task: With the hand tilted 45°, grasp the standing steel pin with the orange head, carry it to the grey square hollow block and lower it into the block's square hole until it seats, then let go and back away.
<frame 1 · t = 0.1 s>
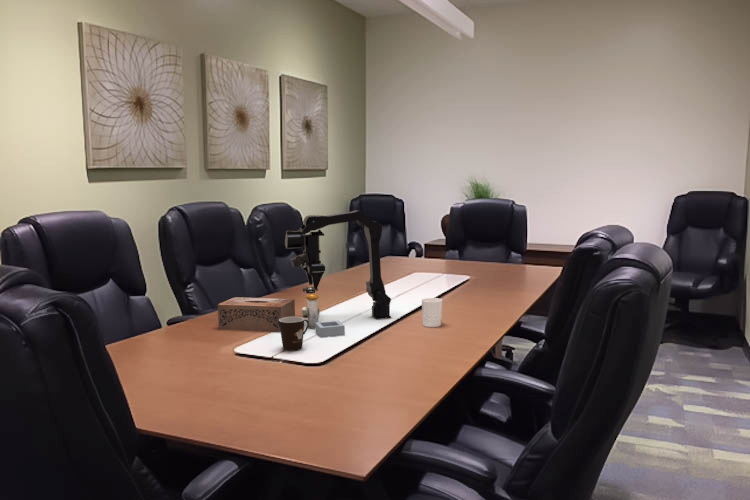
hand: (313, 286, 238), 15 cm above the table, tool pointing down, fingers open, 9 cm apart
tissue box cover: (257, 327, 236), on the table
coffee mug: (296, 348, 204), on the table
pin: (313, 327, 232), on the table
white cup: (431, 325, 233), on the table
valve: (310, 317, 251), on the table
grey square hollow block: (329, 333, 223), on the table
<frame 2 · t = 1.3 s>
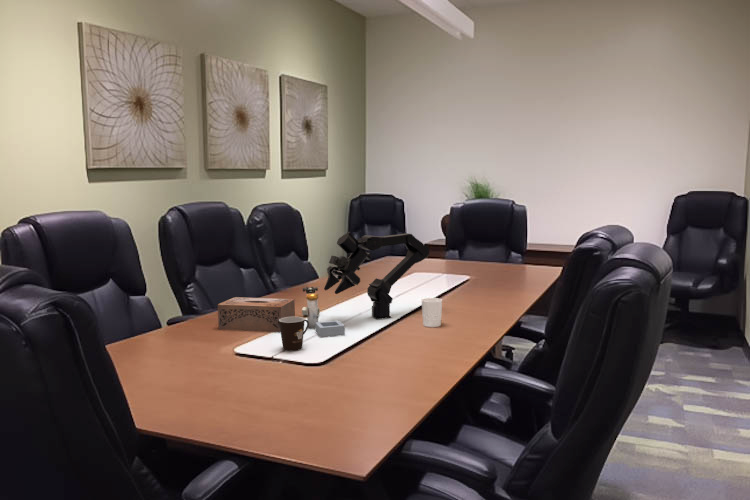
hand: (330, 291, 235), 13 cm above the table, tool tilted 45°, fingers open, 9 cm apart
nothing on the table moved.
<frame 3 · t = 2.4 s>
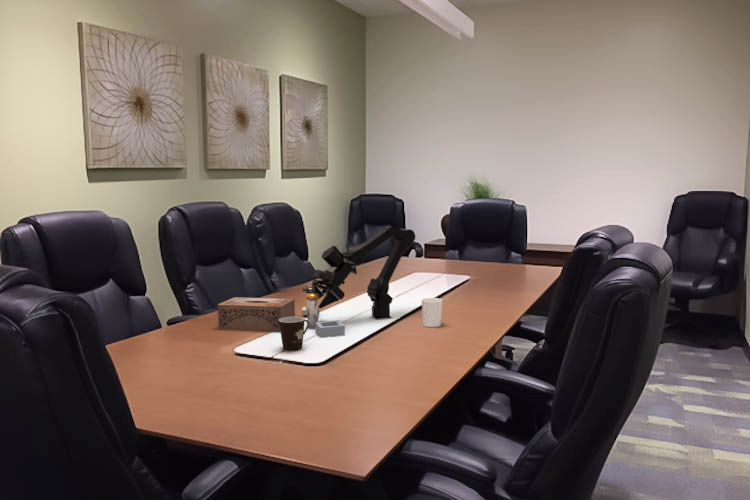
hand: (314, 305, 232), 8 cm above the table, tool tilted 45°, fingers open, 9 cm apart
nothing on the table moved.
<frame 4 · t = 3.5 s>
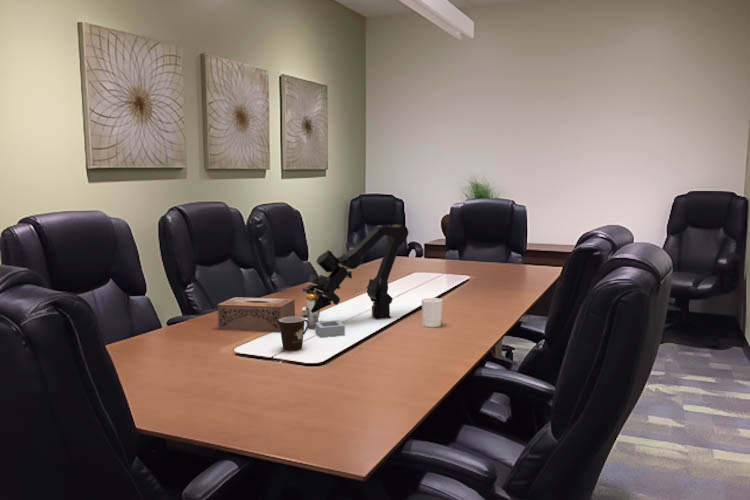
hand: (309, 311, 231), 7 cm above the table, tool tilted 45°, fingers closed on pin, 4 cm apart
pin: (313, 327, 232), on the table, touching gripper
everything else where it was.
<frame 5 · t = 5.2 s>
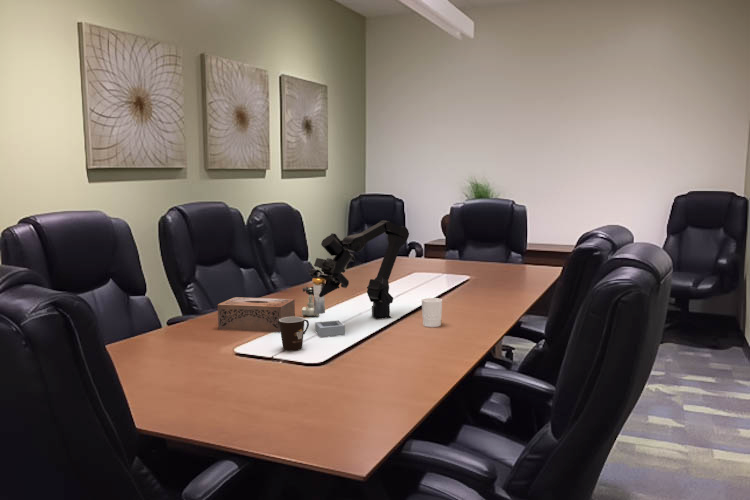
hand: (316, 295, 225), 13 cm above the table, tool tilted 45°, fingers closed on pin, 4 cm apart
pin: (319, 312, 227), point 7 cm above the table, touching gripper
everything else where it was.
when the fingers open (8 cm above the table, at t = 7.1 s): pin drops 2 cm, resting in grey square hollow block.
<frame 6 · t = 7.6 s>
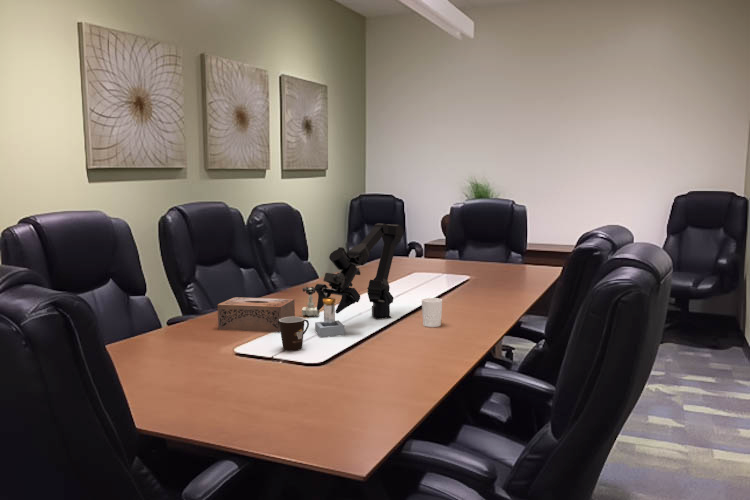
hand: (326, 311, 221), 9 cm above the table, tool tilted 45°, fingers open, 9 cm apart
pin: (329, 333, 223), resting in grey square hollow block
everything else where it was.
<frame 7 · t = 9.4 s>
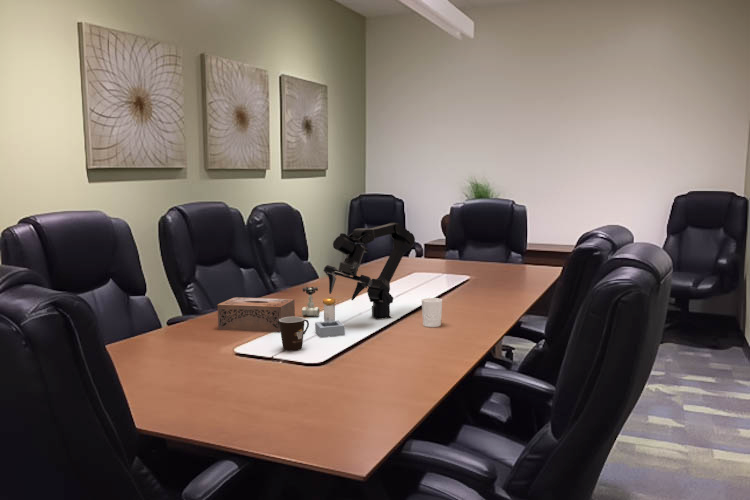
hand: (341, 296, 231), 12 cm above the table, tool tilted 25°, fingers open, 9 cm apart
nothing on the table moved.
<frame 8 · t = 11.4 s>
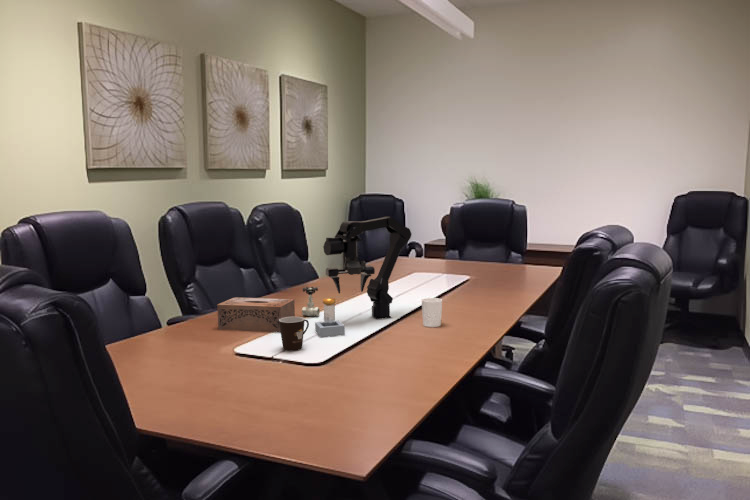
hand: (350, 292, 239), 12 cm above the table, tool pointing down, fingers open, 9 cm apart
nothing on the table moved.
at the end: pin 0.1 cm off-centre on the grey square hollow block, point 0.0 cm above the grey square hollow block's base; pin tilted 0°; the gripper is holding nothing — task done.
